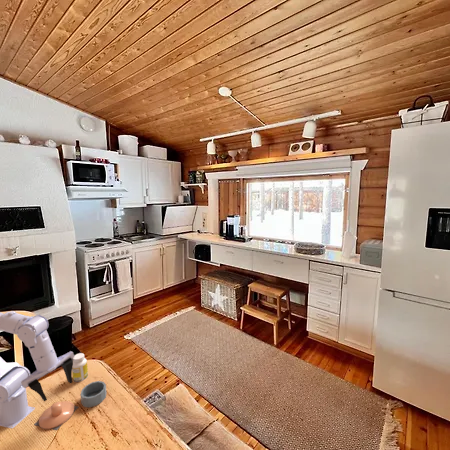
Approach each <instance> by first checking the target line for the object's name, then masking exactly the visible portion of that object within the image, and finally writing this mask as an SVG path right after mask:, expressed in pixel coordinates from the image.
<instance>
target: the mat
mask: <svg viewBox="0 0 450 450" xmlns="http://www.w3.org/2000/svg"><path fill="white" fill-rule="evenodd" d="M78 408H79V406H78V405H77V406H76V405H74V412H76V410H77V409H78ZM33 425H34V426H37V427H40V426H39V419H38V420H37V421H36V422H35V423H34V424H33ZM61 427H62V425H60V426H58V427H55V428H52V429H51V430H53V431H58V430H59V429H60V428H61Z"/></svg>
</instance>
